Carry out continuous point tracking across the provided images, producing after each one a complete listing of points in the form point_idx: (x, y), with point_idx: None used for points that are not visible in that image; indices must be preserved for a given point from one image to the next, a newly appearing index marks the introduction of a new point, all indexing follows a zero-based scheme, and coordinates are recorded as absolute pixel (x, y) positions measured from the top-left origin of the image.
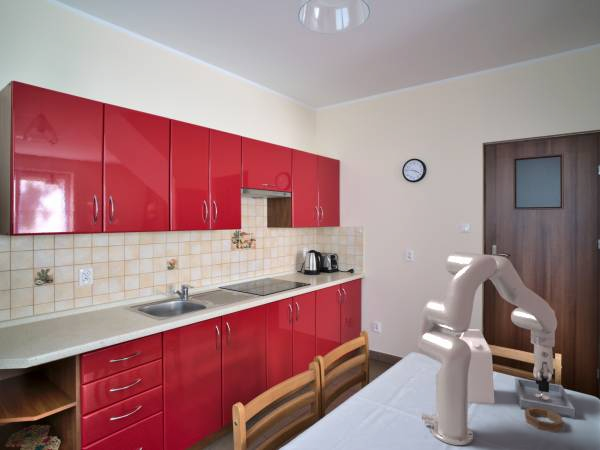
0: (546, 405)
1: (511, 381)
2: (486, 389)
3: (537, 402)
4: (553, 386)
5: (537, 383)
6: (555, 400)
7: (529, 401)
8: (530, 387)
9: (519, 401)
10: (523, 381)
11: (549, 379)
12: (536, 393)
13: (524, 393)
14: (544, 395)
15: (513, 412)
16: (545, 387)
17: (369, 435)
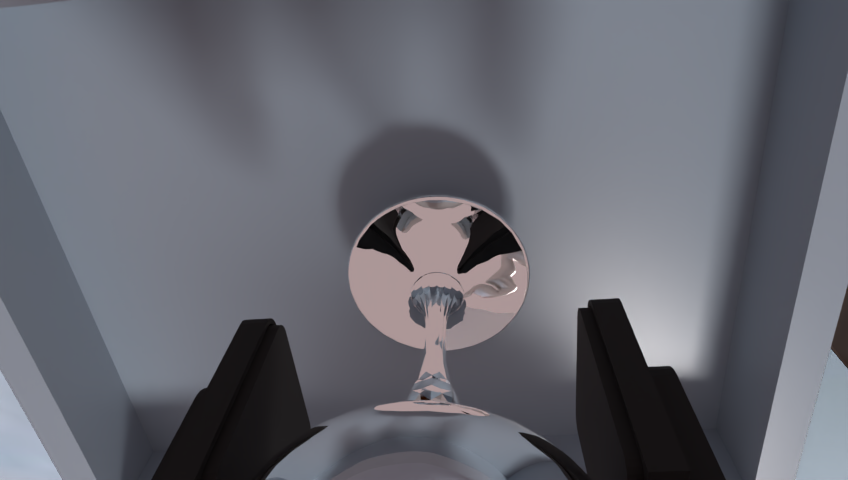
0: (838, 269)
1: (35, 470)
2: None
3: (815, 376)
4: None
5: (308, 428)
6: (351, 88)
7: (801, 448)
8: (110, 347)
9: None
10: (103, 457)
11: (574, 476)
12: (262, 299)
13: (353, 407)
14: (445, 266)
15: (832, 475)
16: (681, 415)
17: None
